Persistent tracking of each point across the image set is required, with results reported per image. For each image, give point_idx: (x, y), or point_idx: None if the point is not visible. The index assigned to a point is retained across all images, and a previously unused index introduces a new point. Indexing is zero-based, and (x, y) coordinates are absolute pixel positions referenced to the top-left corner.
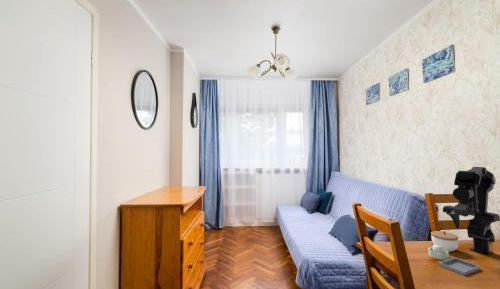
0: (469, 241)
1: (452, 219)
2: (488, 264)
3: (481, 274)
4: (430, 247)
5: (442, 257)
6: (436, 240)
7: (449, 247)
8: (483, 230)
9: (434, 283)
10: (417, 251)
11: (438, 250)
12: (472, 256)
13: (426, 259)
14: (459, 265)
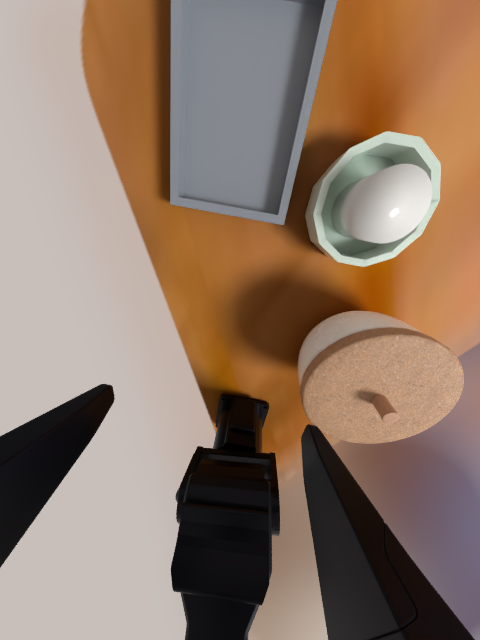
0: (287, 467)
1: (423, 576)
2: (189, 312)
3: (158, 153)
4: (422, 230)
5: (335, 161)
6: (404, 323)
7: (325, 321)
8: (41, 420)
9: None
10: (474, 192)
11: (375, 173)
12: (247, 349)
13: (417, 78)
14: (247, 158)
